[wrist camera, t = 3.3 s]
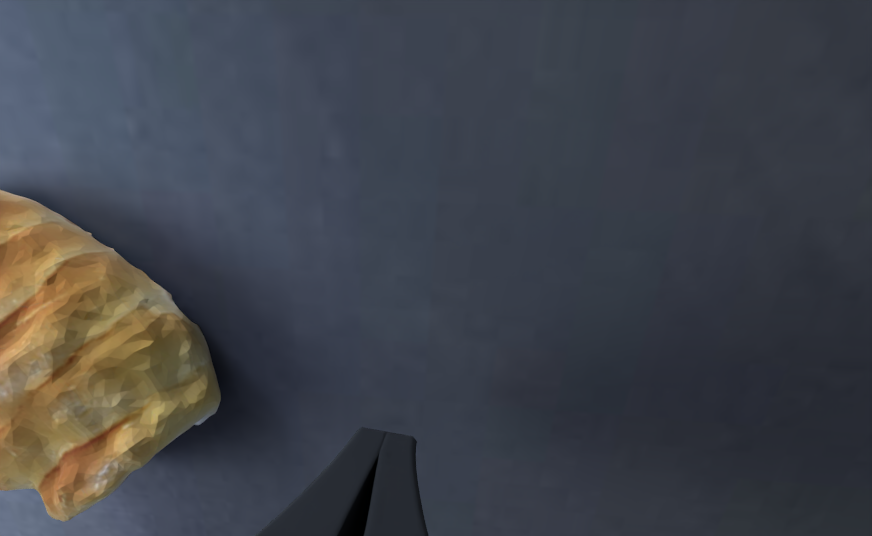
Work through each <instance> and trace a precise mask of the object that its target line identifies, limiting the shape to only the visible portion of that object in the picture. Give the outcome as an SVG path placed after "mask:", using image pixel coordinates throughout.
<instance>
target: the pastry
mask: <svg viewBox="0 0 872 536" xmlns="http://www.w3.org/2000/svg"><path fill="white" fill-rule="evenodd" d="M91 234H92V233H89V232H86V231H84V230H83V229H81V228H80V227H78V226H77V225H76V224H74V223H72V222H71V221H69V220H68V219H66V218H65V217H63V216H62V215H60V214H58V213H56V212H54V211H52V210H50V209H48V208H46V207H45V206H43V205H41V204H40V203H38V202H36V201H34V200H31V199H28V198H25V197H21V196H18V195H14V194H11V193H8V192H5V191H2V190H0V490H5V491H8V490H15V489H36V490H37V491H38V492H39V494H40V495H41V497H42V499H43V502H44V504H45V507H46V509H47V512H48V514H49V515H50V516H51V517H52V518H54V519H57V520H61V521H67V520H70V519H72V518H73V517H74V516H76V515H78V514H80V513H81V512H83V511H85V510H87V509H89V508H90V507H91V506H93V505H94V504H96V503H97V502H99V501H101V500H103V499H105V498H106V497H108V496H109V495H110V494H111V493H113V492H114V491H115V490H116V489H117V488H118V487H119V486H120V485H121V484H122V483H123V482H124V480H125V479H126V478H127V477H128V476H129V475H130V474H131V472H132V471H134V470H137V469H139V468H141V467H143V466H144V465H145V464H147V463H148V462H149V461H150V460H151V458H152V457H153V456H154V455H155V454H156V453H158V452H159V451H160V450H162V449H163V448H164V447H165V446H167V445H168V444H169V443H171V442H172V441H173V440H174V439H176V438H177V437H178V436H179V435H181V434H182V433H184V432H185V431H187V430H188V429H190V428H191V427H192V426H193V425H200V424H201V423H203V422H204V421H205V420H206V419H207V418H208V417H210V416H211V415H213V414H215V413H216V411H217V409H218V407H219V404H220V401H221V394H220V389H219V385H218V381H217V377H216V374H215V370H214V367H213V364H212V360H211V356H210V352H209V348H208V345H207V342H206V340H205V338H204V335H203V333H202V332H201V330H200V328H199V325H197V324H195V323H193V322H191V321H190V320H189V319H188V318H187V317H186V316H185V315H184V314H183V313H182V312H181V311H180V310H179V308H178V307H177V306H176V305H175V303H174V302H173V300H172V296H171V294H170V293H168V292H167V291H166V290H165V289H163V288H162V287H161V286H159V285H158V284H157V283H155V282H154V281H152V280H151V279H150V278H149V277H148V276H147V275H146V274H145V273H144V272H143V271H142V270H140V269H137V268H135V267H134V266H132V265H130V264H129V263H128V262H127V261H126V260H125V259H124V258H123V257H121V256H120V255H119V254H118V253H117V252H116V251H114V249H113V248H109V247H107V246H105V245H103V244H102V243H100V242H99V241H97V240H96V239H95V238H93V237H92V236H91Z"/></svg>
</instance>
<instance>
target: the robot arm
mask: <svg viewBox="0 0 872 536" xmlns="http://www.w3.org/2000/svg"><path fill="white" fill-rule="evenodd" d="M416 443H417V441H416V440H415V439H414V437H413V436H407V435H401V434H396V433H390V432H385V431H379V430H374V429H368V428H363V427H362V428H360V429H359V430H357V431H356V433H355V434H354V436H353V437H352V438H351V439H350V441H349V442H348V443H347V445H346V446H345V447H344V448H343V449H342V451H341V452H340V453H339V454H338V455H337V456H336V458H335V459H334V460H333V461H332V462H331V463H330V464H329V466H328V467H327V468H326V469H325V470H324V471H323V472H322V473H321V474H320V475H319V476H318V477H317V478H316V479H315V480H314V481H313V482H312V484H311V485H310V486H309V487H308V488H307V489H306V490H305V491H304V492H303V493H302V494H301V495H299V496H298V497H297V498H296V499H295V500H294V501H293V502H292V503H291V504H290V505H289V506H288V507H287V508H286V509H285V510H284V511H283V512H281V513H280V514H279V515H278V516H277V517H276V518H275V519H274V520H273V521H271V522H270V523H269V524H268V525H267V526H266V527H265V528H263V529H262V530H261V531H260V532H259V533H257V534H256V535H255V536H428V532H427V529H426V524H425V520H424V515H423V510H422V505H421V499H420V494H419V488H418V481H417V472H416Z"/></svg>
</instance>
